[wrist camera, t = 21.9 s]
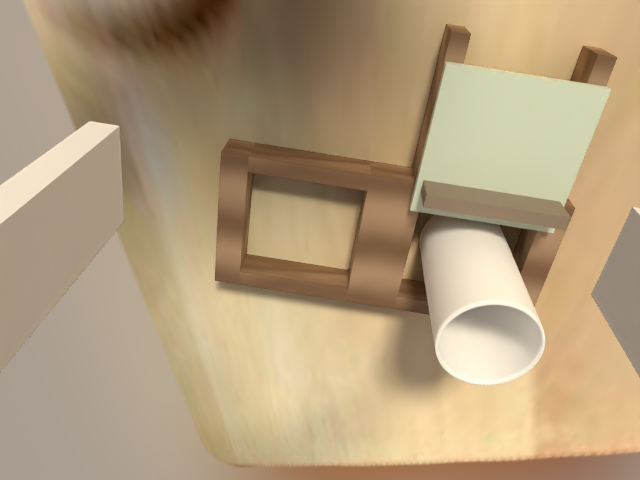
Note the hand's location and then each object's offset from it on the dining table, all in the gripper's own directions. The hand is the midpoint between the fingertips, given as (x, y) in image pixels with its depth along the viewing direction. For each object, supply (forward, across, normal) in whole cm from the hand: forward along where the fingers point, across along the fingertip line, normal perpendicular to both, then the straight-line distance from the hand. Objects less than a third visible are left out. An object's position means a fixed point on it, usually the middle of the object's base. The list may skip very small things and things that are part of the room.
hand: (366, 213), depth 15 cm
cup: (+37, +13, -20) cm, 44 cm away
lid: (+33, +13, -9) cm, 37 cm away
